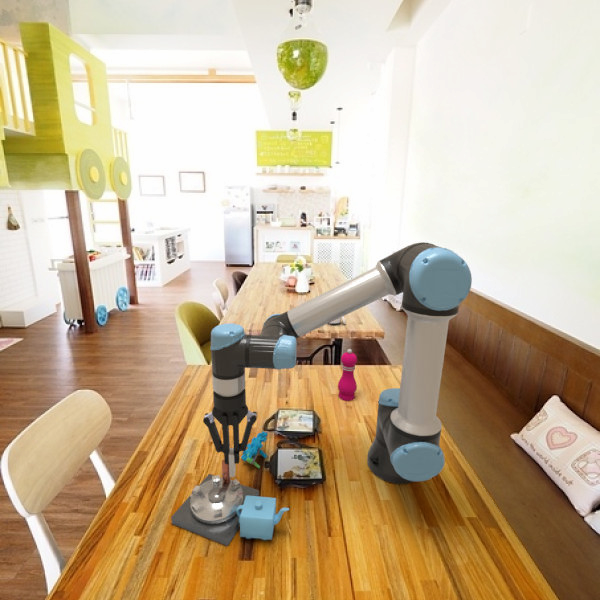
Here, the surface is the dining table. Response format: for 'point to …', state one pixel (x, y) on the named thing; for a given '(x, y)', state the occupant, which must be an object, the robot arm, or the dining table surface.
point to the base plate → (211, 531)
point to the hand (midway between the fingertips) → (232, 473)
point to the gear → (255, 449)
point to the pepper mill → (347, 376)
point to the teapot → (258, 517)
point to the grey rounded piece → (216, 498)
